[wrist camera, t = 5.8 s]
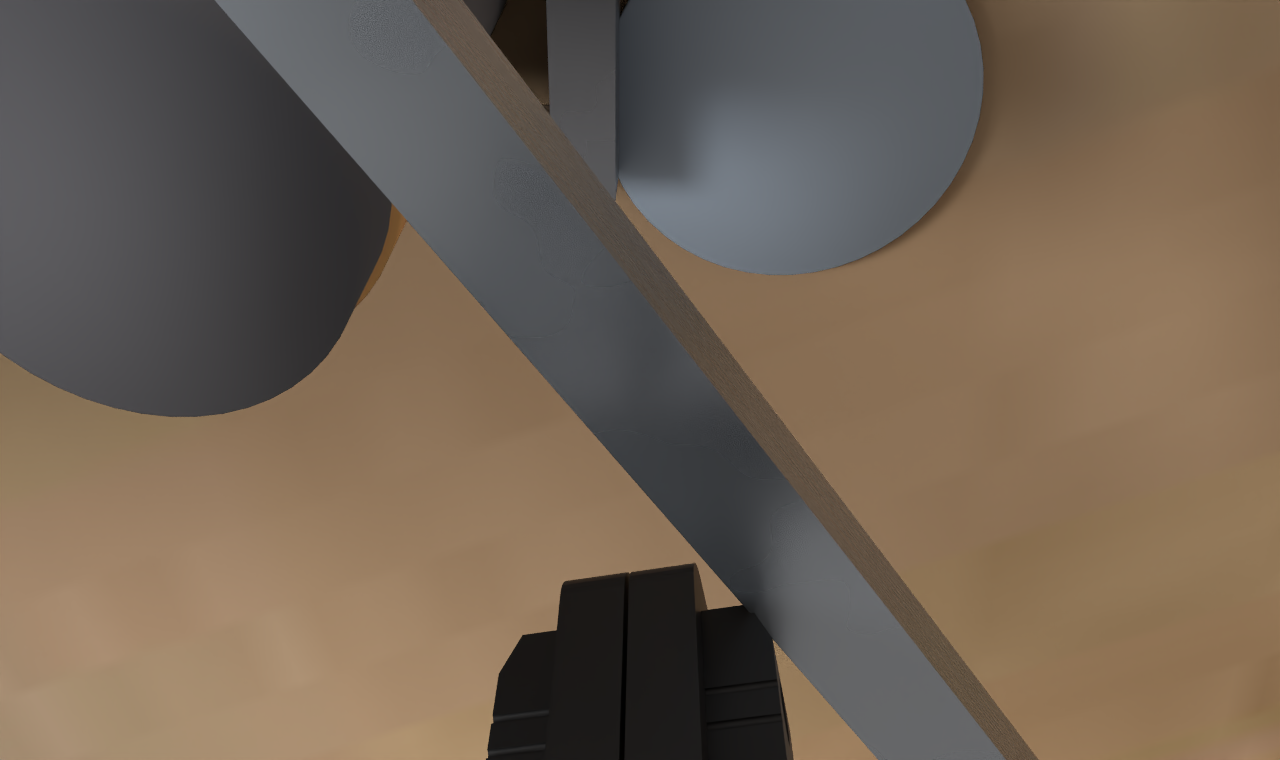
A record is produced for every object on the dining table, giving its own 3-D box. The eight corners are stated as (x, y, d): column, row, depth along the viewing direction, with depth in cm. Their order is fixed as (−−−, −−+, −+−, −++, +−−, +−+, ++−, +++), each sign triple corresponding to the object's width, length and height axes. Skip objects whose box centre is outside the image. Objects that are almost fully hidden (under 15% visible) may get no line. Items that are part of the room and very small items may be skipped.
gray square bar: (-623, -837, 7) (-1391, -1127, 4) (-341, -1380, 5) (-1154, -2201, 3) (930, 870, 15) (977, 1099, 13) (1157, 792, 14) (1254, 1026, 12)
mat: (524, 85, 24) (522, 91, 23) (825, -196, 21) (827, -193, 20) (759, 327, 27) (760, 336, 26) (1052, 115, 24) (1057, 122, 23)
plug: (220, -63, 22) (-218, 207, 11) (381, -256, 20) (39, -153, 9) (409, 116, 24) (186, 494, 13) (572, -44, 22) (470, 244, 11)
